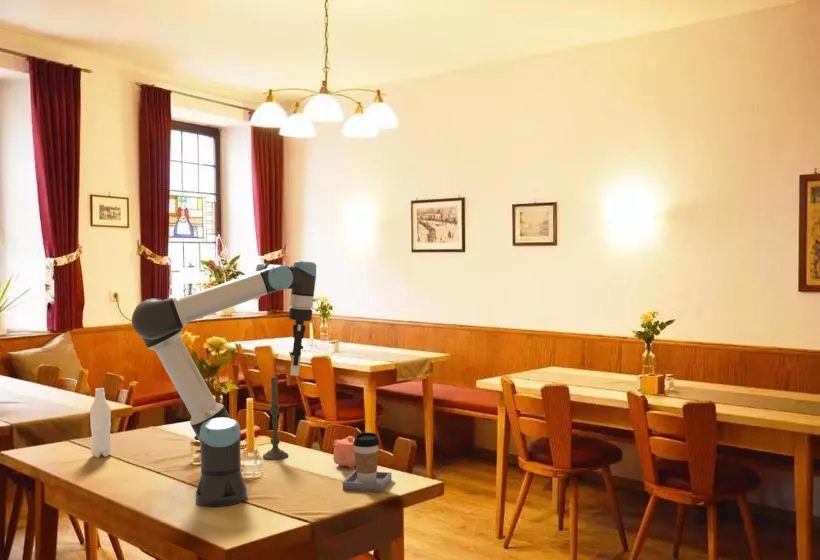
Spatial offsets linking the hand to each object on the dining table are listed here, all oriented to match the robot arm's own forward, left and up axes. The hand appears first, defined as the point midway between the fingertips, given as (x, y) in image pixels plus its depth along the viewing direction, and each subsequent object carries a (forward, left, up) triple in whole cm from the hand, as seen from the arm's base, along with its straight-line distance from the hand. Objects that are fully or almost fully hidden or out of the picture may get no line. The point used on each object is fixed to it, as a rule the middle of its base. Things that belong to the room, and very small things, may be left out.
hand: (294, 371), depth 242 cm
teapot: (+16, -14, -35) cm, 41 cm away
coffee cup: (-4, -26, -34) cm, 43 cm away
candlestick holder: (+21, +16, -35) cm, 44 cm away
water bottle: (+10, +80, -35) cm, 88 cm away
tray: (-4, -26, -35) cm, 44 cm away
